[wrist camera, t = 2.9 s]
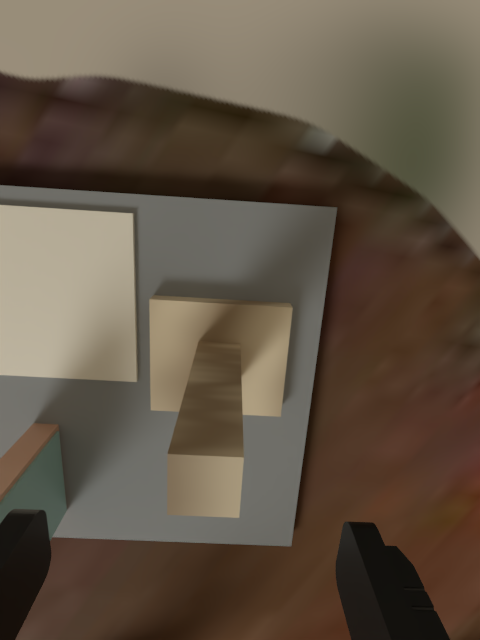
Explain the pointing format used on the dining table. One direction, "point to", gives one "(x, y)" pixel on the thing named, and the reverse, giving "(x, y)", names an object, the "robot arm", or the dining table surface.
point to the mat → (134, 397)
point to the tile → (34, 475)
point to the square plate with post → (214, 391)
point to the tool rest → (67, 294)
